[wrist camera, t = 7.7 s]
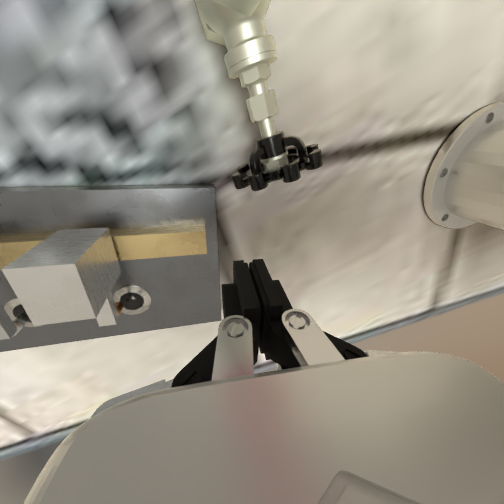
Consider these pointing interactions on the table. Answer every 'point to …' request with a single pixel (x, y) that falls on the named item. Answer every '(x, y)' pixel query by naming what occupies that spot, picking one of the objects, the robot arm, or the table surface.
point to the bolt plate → (155, 274)
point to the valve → (256, 90)
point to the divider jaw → (68, 278)
